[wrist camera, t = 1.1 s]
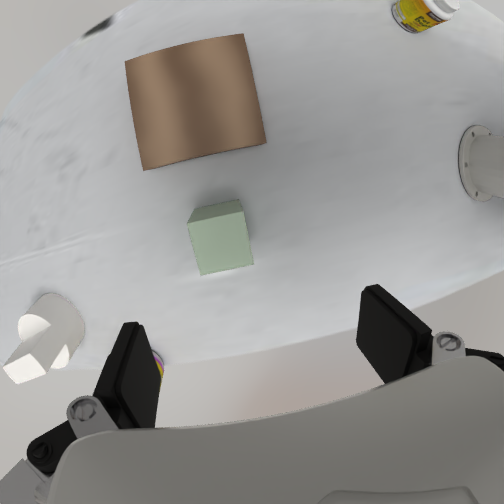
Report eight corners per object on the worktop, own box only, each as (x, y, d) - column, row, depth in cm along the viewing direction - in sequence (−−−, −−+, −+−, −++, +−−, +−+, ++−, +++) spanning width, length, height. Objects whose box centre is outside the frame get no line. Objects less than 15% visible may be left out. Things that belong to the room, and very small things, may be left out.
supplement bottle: (396, 30, 24) (441, 7, 15) (385, 0, 22) (425, -27, 13) (425, 37, 25) (469, 20, 15) (414, 8, 23) (454, -13, 13)
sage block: (238, 199, 30) (243, 211, 24) (247, 241, 32) (253, 264, 26) (194, 209, 30) (186, 223, 24) (204, 250, 32) (200, 275, 25)
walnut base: (240, 47, 25) (243, 33, 21) (260, 144, 29) (266, 142, 25) (135, 71, 24) (124, 61, 20) (152, 168, 28) (143, 170, 24)
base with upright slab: (59, 283, 31) (14, 330, 20) (95, 334, 34) (65, 391, 23) (28, 305, 32) (-13, 349, 20) (61, 350, 35) (31, 400, 23)
